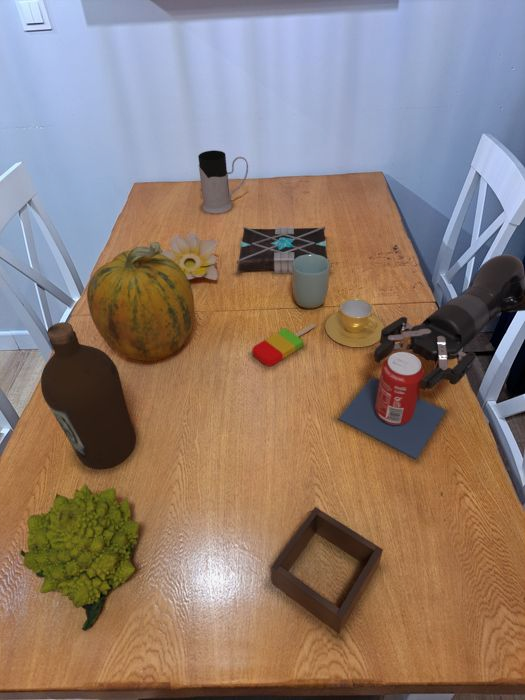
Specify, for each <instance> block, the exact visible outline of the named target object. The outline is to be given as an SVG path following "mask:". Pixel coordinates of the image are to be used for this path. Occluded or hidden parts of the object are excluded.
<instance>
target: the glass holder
mask: <svg viewBox="0 0 525 700" xmlns="http://www.w3.org/2000/svg"><path fill="white" fill-rule="evenodd" d="M197 157H198V171H199V179H200V186H201V195H202V202H203V203H202V206H201V207H202V210H203V212H206V213H207V214H223V213H225V212H228V211H230V210H231V209H232V208H233V203H232V202H231V200H232V196H233V195H234V194H235V193H236V192H237V191H238V190H239V189H240V188H241V187H242V186H243V185H244V183H245V182H246V179H247V177H248V172H249V163H248V161H247V159H246V158H245V157H243V156H237V157H235V158H234V159H233V161H232V162H231V165H232V166H231V171H228V169H227V167H228V166H227V157H226V152H225V151H223V150H216V149H215V150H206V151H202V152H201V153H199V154H198V156H197ZM239 159H242V160H243V161H245V164H246V170H245V175H244V178H243V179H242V181H241V183H240V184H239V185H238V186H237V187H236V188H235V189H234V190H233V191H232V192H231V193H230V183H229V175H231V174H233V173H234V170H235V167H234V165H235V162H236V161H237V160H239Z"/></svg>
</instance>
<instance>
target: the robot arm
mask: <svg viewBox="0 0 525 700" xmlns="http://www.w3.org/2000/svg"><path fill="white" fill-rule="evenodd" d="M524 267H525V266H524V264H523V262H522V260H521V259H520V258H519V257H517V256H515V255H512V254H500V255H495V256H494V257H491V258H490V259H488V260H487V261H485V262H483V264H482V265H481V266H480V267H479V269H478V270H477V271H476V273H475V274H474V276H473V277H472V279H471V281H470V283H469V284H468V287H467V288H466V289H464V290H463V291H462V292H460V293H459V294H458V295H457V296H456V297H454V298H451V299H450V300H448V301H447V302H445V303H444V304H443V305H441V306H440V307H439V308H438V309H437V310H435V311H434V312H432V313H431V314H430V315H429V316H428V317H426V318H425V319H424V320H423V321H422V323H420V324H417V325H412V324H410V323H408V317H406V316H401V317H399V318H398V319H396V320H394V321H393V322H391V323H389V324H388V325H387V326H384V329H382V330H381V338H380V340H379V345H378V346H377V347H375V349H374V353H373V357H374V358H373V361H374V362H376V363H378V364H379V363H381V362H382V361H383V360H385V359H386V358H387V357H389V356H390V354H391V355H392V352H407V353H411V352H412V353H413V354H414V355H417V356H420V357H422V358H423V359H424V360H425V361H427V362H430V361H431V362H433V369H432V370H431V371H430V372H429V373H428V374H426V375H425V376H423V380H422V383H421V386H420V390H422V391H426V390H427V389H428V390H433V389H434V388H435V387H436V386H437V385H438V384H440V383H441V382H442V381H448V382H449V383H450V384H451V385H457V384H458V383H459V382H460V380H461V379H462V378H464V377H465V375H466V374H467V373H468V372H469V371H470V370H471V368H472V367H473V365H474V362H475V359H476V356H477V354H476V353H475V352H474V351H468V352H467V353H466V352H465V351H462V350H463V349H464V348H465V347H466V346H467V345H469V343H470V342H472V341H473V340H475V338H476V337H477V336H479V334H481V333H482V332H483V330H484V329H485V328H486V327H487V325H489V324H490V323H491V322H492V321H493V320H494V319H496V318H497V317H498V315H499V314H505V313H506V314H507V313H514V312H525V268H524ZM409 341H410V342H409ZM408 343H410V344H408ZM455 359H457V361H456V365H455V366H453V368H451V367H449V365H448V360H455Z"/></svg>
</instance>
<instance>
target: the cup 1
mask: <svg viewBox="0 0 525 700" xmlns="http://www.w3.org/2000/svg"><path fill="white" fill-rule="evenodd" d="M327 259H328V258H327ZM327 259H326V258H325V257H323V256H320V255H315V254H307V255H302V256H299V257H297V258H296V259H295V260H294V261H293V265H292V273H291V286H292V287H291V288H292V294H293V299H294V301H295V303H296V304H297V305H298V306H299V307H301V308H303V309H312V310H313V309H317V308H319V307H321V306H322V305H323V304H324V303H325V301H326V299H327V296H328V292H329V287H330V286H329V284H330V271H331V269H330V268H331V265H330V260H329V261H328V260H327Z"/></svg>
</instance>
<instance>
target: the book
mask: <svg viewBox="0 0 525 700" xmlns="http://www.w3.org/2000/svg"><path fill="white" fill-rule="evenodd" d="M325 230H326V226H325V225H324V226H321V227H304V228H302V227H300V228H295V227H294V226H281V227H280V226H277V227H275V228H249V227H246V226H243V234H242V239H241V241H240V250H239V256H238V259H237V260H236V264H237V265H238V269H237V274H241V273H244V272H247V271H249V272H250V271H273V273H274V274H292V265H293V261H294V260H295V259H296V258H297V257H299V256H302V255H307V254H315V255H320V256H323V257H325V258H326V259H327V260H328V261H329V262H330V259H329V258H328V253H327V241H326V236H325Z"/></svg>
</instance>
